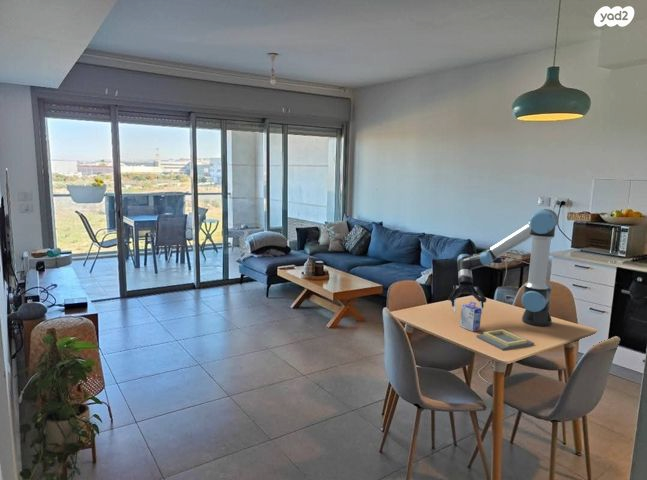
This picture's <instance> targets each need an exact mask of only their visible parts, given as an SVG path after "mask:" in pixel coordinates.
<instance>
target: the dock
mask: <svg viewBox="0 0 647 480" xmlns="http://www.w3.org/2000/svg"><path fill="white" fill-rule="evenodd" d="M475 336H476V338H477V339H479V340H481V341H482V342H483V341H484V342H486V344H489V345H491V346H493V347H495V348H497V349H500V350H502V351H506V350H512V349H518V348H523V347H529V346H534V345H535V342H533V341H531V340H528V339H526V338H524V337H522V336H519V335H517V334H515V333H512V332H510V331H508V330H505V329H497V330H495V329H494V330H489V331H483V334H477V335H475Z"/></svg>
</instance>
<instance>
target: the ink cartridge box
mask: <svg viewBox="0 0 647 480" xmlns="http://www.w3.org/2000/svg"><path fill="white" fill-rule="evenodd" d="M476 305H477V303H476V302H474V301H470V302H469V304H462V305H461V308H460V317H459V318H460V319H459V327H461V328H463V329H466V330H468V331H470V332H479V331H480V330H481V320H482V319H481V318H482V317H481V316H482V314H481V309H480V308H479V307H477V306H476Z"/></svg>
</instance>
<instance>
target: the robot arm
mask: <svg viewBox="0 0 647 480" xmlns="http://www.w3.org/2000/svg"><path fill="white" fill-rule="evenodd" d="M558 223H559V217H558V214H557V213H556V212H555V211H553V210H551V209H547V208H546V209H541V210H538V211H536V212H534V213H533V214H532V215H531V216H530V219H529V220H528V222H527V223H526V224H524V225H522V226H521V227H520V228H518V229H517V230H515V231H514V232H512V233H511V234H509V235H507V236H506V237H504V238H502V239H501V240H499V241H498V242H496V243H495V244H493V245H491V246H490V247H488V248H486V249H485V250H483V251H481V252H479V253H477V254H474V255H470V254H467V253H461V254H459V255H458V256H457V260H456V261H457V263H456V264H457V270H458V271H457V273H458V275H457V276H458V285H457V284H454V285H453V288H452V290H451V292H450V294H449V295H448V299H447V300H448V302H449V301H450V302H451V307H453V312H454V314H456V312H457V300H456V299H457V298H458V297H459V296H460V295H462V294H463V295H471V296H473V297H474V298H475V300H477V301H478V302H479V303H478V308H480V309H481V315H483V309H484V303H487V298H486V296H485V295H484V293H483V291H482V290H481V289H480V285H477V286H474V283H473V281H474V279H473V273H472V272H473V271H472V270H476V269H478V268H483V267H486V266H489V265H492V264H493V261H495V260H496V259H498V258H500V257H502V256H503V255H505V254H506V253H508V252H509V251H512V250H513V249H514V248H516V247H518V246H520V245H521V244H522V243H525V242H526V241H528V240H530V239H531V238H532V242H531V251H530V258H529V259H530V260H529V269H528V278H527V282H526V283H524V286H523V294H522V295H521V305H522V306H523V308H524V309H525V310H524V312H523V314H522V318H521V320H522V322H523V323H525V324H527V325H530V326H536V327H550V326H552V322H553V321H552V320H553V319H552V317H551V314H550V306H551V293H552V285H551V284H549V283H547V273H548V264H549V258H550V250H551V249H550V246H551V240H552V239H553V238H555V233H556V227H557V225H558ZM456 290H458V292H456ZM455 292H456V294H455ZM454 294H455V295H454Z"/></svg>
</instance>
